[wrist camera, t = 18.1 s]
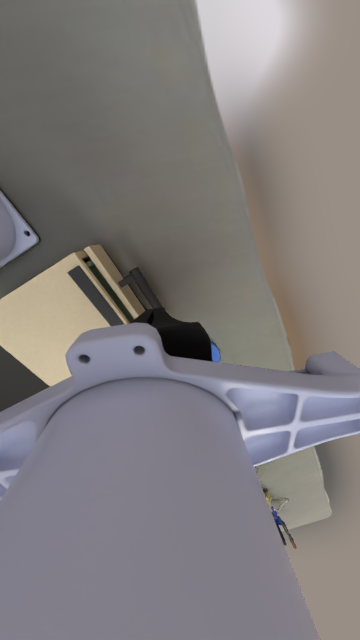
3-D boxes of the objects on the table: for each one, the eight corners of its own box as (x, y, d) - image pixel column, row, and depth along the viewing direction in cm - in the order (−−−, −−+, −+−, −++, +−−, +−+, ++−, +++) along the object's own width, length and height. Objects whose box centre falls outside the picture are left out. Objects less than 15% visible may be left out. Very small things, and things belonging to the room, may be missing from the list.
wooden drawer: (14, 298, 20) (-11, 308, 18) (120, 231, 18) (112, 230, 16) (96, 379, 26) (87, 396, 23) (184, 334, 24) (186, 348, 21)
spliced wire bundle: (262, 454, 50) (287, 507, 53) (238, 474, 48) (265, 528, 51) (295, 488, 40) (323, 551, 43) (266, 515, 38) (297, 579, 41)
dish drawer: (9, 301, 21) (-34, 320, 16) (94, 248, 19) (72, 252, 15) (91, 380, 26) (76, 410, 22) (162, 344, 25) (161, 369, 20)
